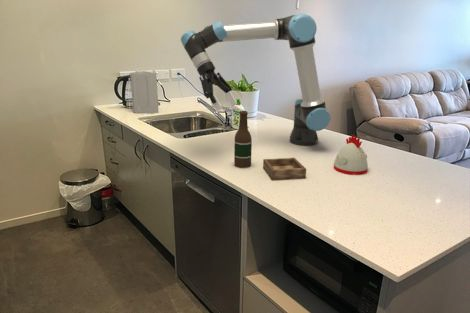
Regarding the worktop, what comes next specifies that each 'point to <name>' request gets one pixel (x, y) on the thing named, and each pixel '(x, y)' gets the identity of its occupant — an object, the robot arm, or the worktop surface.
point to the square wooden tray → (284, 168)
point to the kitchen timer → (351, 158)
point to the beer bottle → (243, 143)
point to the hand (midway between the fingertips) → (227, 107)
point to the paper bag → (144, 92)
